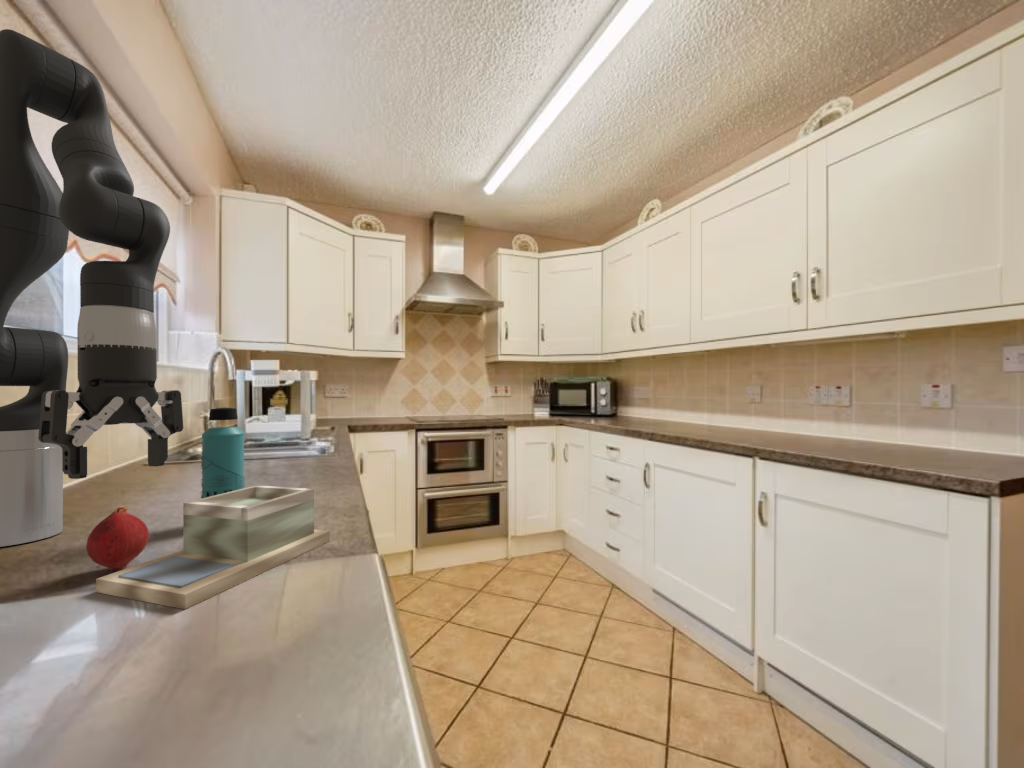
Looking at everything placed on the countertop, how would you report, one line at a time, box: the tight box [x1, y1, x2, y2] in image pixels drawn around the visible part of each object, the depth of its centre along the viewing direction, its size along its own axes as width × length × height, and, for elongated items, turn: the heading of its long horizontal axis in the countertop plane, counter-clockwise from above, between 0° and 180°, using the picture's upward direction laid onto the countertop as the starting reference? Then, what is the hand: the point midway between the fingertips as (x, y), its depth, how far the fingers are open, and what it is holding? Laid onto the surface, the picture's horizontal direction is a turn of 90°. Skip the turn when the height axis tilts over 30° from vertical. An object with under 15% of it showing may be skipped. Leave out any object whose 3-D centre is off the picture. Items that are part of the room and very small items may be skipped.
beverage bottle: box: [200, 407, 245, 499], centre depth 75 cm, size 6×7×20 cm
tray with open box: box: [95, 484, 331, 610], centre depth 56 cm, size 14×21×8 cm, turn 162°
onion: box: [85, 505, 150, 571], centre depth 55 cm, size 6×6×8 cm
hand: (119, 471), depth 55 cm, fingers open, 8 cm apart
